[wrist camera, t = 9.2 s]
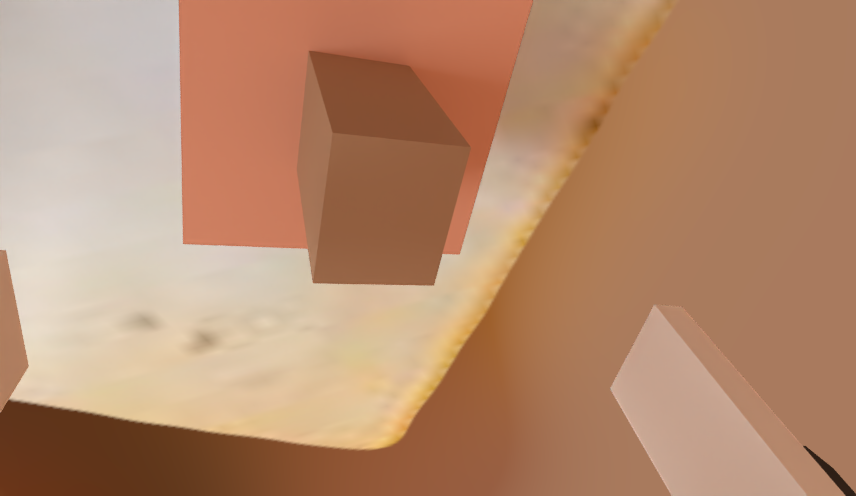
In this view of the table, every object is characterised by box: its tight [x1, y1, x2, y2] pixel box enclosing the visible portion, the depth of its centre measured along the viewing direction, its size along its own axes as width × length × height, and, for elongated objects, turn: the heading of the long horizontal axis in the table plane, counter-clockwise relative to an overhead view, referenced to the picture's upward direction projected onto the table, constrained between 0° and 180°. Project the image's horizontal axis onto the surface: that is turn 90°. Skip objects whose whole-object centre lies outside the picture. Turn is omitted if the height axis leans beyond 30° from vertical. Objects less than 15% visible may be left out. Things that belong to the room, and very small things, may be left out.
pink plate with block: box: [179, 0, 533, 285], centre depth 20 cm, size 13×13×9 cm
